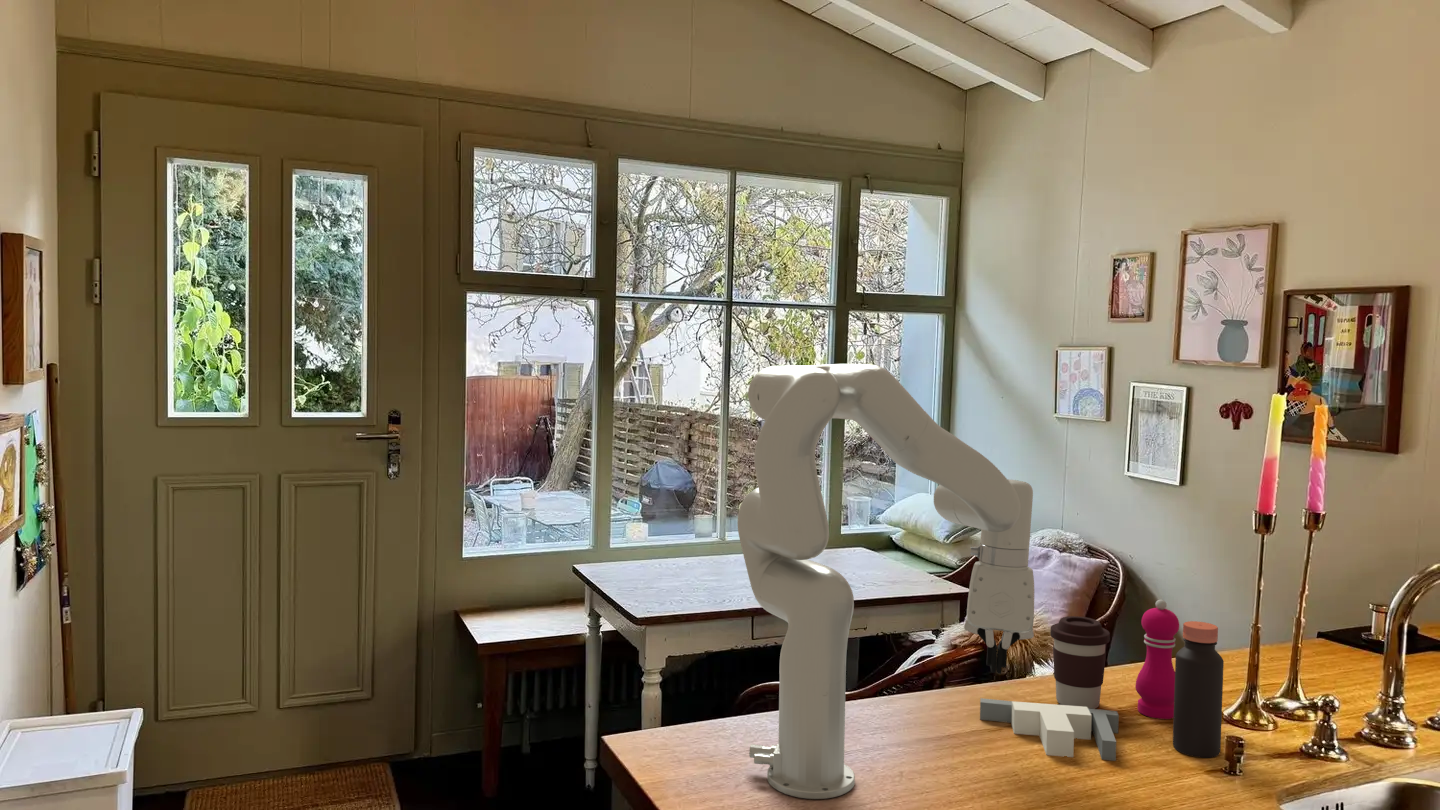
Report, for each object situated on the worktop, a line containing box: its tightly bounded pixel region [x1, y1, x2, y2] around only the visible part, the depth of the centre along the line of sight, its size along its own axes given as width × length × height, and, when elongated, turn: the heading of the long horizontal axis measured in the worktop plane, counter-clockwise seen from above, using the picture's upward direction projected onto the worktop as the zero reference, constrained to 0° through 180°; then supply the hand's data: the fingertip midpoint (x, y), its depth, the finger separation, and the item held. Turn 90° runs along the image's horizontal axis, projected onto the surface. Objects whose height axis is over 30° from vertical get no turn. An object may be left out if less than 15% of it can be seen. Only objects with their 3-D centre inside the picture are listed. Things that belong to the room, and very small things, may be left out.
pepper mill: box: [1135, 599, 1180, 720], centre depth 170 cm, size 7×7×20 cm
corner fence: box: [979, 697, 1120, 762], centre depth 159 cm, size 22×14×3 cm, turn 76°
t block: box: [1010, 700, 1092, 758], centre depth 158 cm, size 12×12×4 cm
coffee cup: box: [1049, 615, 1111, 709], centre depth 175 cm, size 10×10×15 cm
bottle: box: [1172, 620, 1225, 759], centre depth 154 cm, size 7×7×20 cm
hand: (995, 670), depth 157 cm, fingers closed
